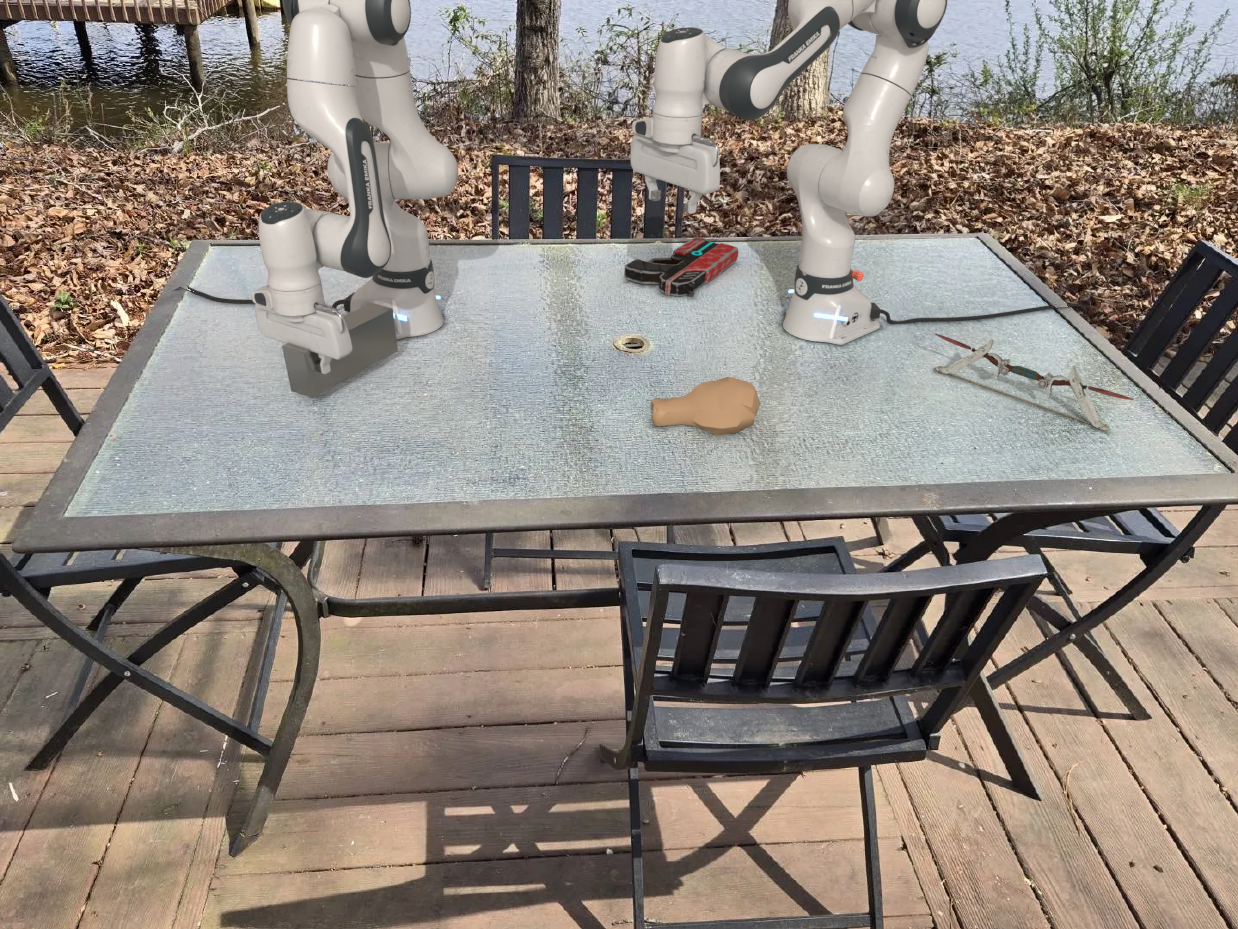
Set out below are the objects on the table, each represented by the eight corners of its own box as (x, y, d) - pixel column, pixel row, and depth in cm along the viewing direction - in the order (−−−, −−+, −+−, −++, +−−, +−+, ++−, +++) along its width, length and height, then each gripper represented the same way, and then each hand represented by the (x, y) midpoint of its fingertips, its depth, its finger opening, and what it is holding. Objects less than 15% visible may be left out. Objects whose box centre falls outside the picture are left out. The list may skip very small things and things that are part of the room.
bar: (312, 398, 162) (303, 352, 157) (291, 391, 164) (281, 345, 159) (398, 351, 179) (392, 308, 174) (377, 344, 181) (371, 302, 176)
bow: (1121, 432, 163) (1140, 385, 158) (1118, 436, 162) (1137, 389, 157) (928, 364, 185) (939, 321, 179) (924, 367, 184) (935, 323, 178)
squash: (764, 441, 158) (764, 403, 152) (653, 450, 160) (649, 412, 153) (757, 403, 166) (757, 365, 160) (652, 411, 167) (648, 374, 161)
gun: (618, 266, 215) (688, 285, 207) (677, 229, 237) (743, 245, 229) (618, 283, 218) (687, 302, 210) (676, 245, 240) (741, 261, 232)
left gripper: (354, 304, 154) (364, 374, 161) (271, 280, 162) (285, 348, 169) (327, 316, 149) (340, 388, 157) (243, 291, 157) (259, 361, 165)
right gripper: (731, 138, 152) (724, 216, 160) (650, 116, 165) (647, 190, 172) (706, 143, 149) (700, 223, 156) (625, 120, 161) (623, 196, 169)
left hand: (310, 367), depth 163 cm, fingers closed on bar, 5 cm apart
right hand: (672, 206), depth 164 cm, fingers open, 8 cm apart
